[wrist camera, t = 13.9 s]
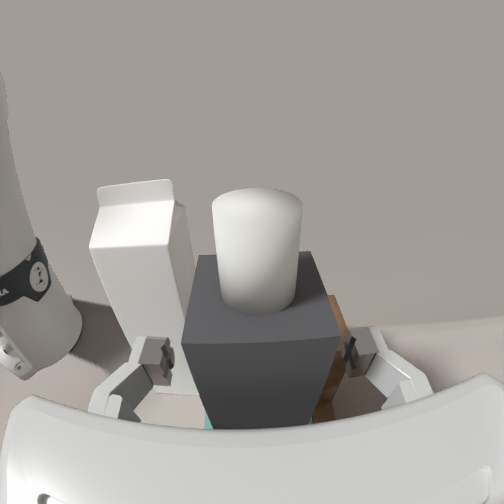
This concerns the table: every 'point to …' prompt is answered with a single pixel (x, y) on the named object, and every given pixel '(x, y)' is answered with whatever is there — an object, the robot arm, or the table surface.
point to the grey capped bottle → (259, 316)
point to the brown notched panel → (331, 373)
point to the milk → (147, 266)
